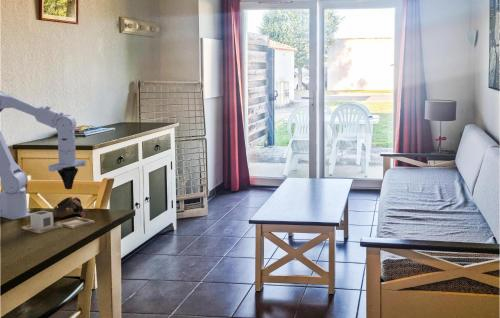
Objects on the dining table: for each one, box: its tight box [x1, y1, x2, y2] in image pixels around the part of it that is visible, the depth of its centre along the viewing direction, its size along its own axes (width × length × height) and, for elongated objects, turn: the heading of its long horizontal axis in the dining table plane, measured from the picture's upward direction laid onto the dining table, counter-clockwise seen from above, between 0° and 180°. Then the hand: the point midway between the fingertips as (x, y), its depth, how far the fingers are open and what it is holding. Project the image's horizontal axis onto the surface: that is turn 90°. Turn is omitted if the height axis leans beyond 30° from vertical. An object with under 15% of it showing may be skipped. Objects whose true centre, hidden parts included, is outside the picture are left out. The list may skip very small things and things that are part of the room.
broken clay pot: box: [53, 196, 87, 219], centre depth 221 cm, size 12×10×8 cm
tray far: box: [54, 216, 95, 230], centre depth 211 cm, size 9×9×1 cm
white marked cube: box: [29, 210, 54, 231], centre depth 204 cm, size 5×5×5 cm
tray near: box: [21, 222, 63, 234], centre depth 205 cm, size 9×9×1 cm
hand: (68, 188), depth 220 cm, fingers closed
